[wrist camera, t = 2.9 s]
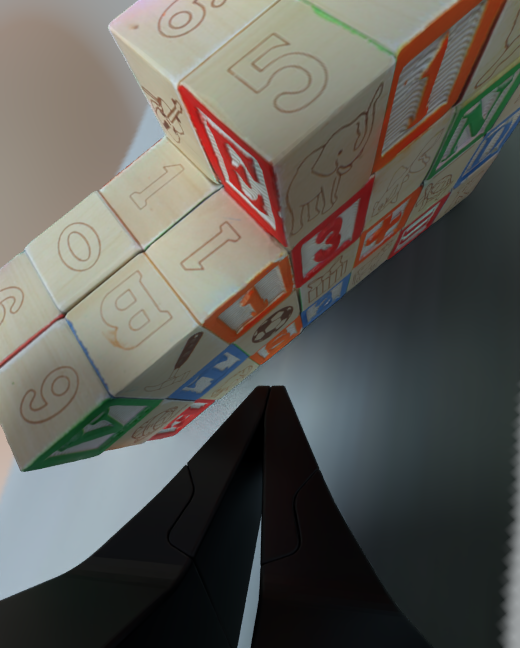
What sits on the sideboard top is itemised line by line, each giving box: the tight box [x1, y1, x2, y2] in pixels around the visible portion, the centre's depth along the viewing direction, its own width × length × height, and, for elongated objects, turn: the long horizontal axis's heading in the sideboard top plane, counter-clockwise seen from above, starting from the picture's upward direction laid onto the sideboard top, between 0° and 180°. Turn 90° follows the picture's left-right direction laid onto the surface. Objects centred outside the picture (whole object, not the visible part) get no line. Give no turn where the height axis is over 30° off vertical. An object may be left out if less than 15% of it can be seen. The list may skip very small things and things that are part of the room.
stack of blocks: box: [0, 0, 520, 472], centre depth 12 cm, size 21×6×12 cm, turn 128°
